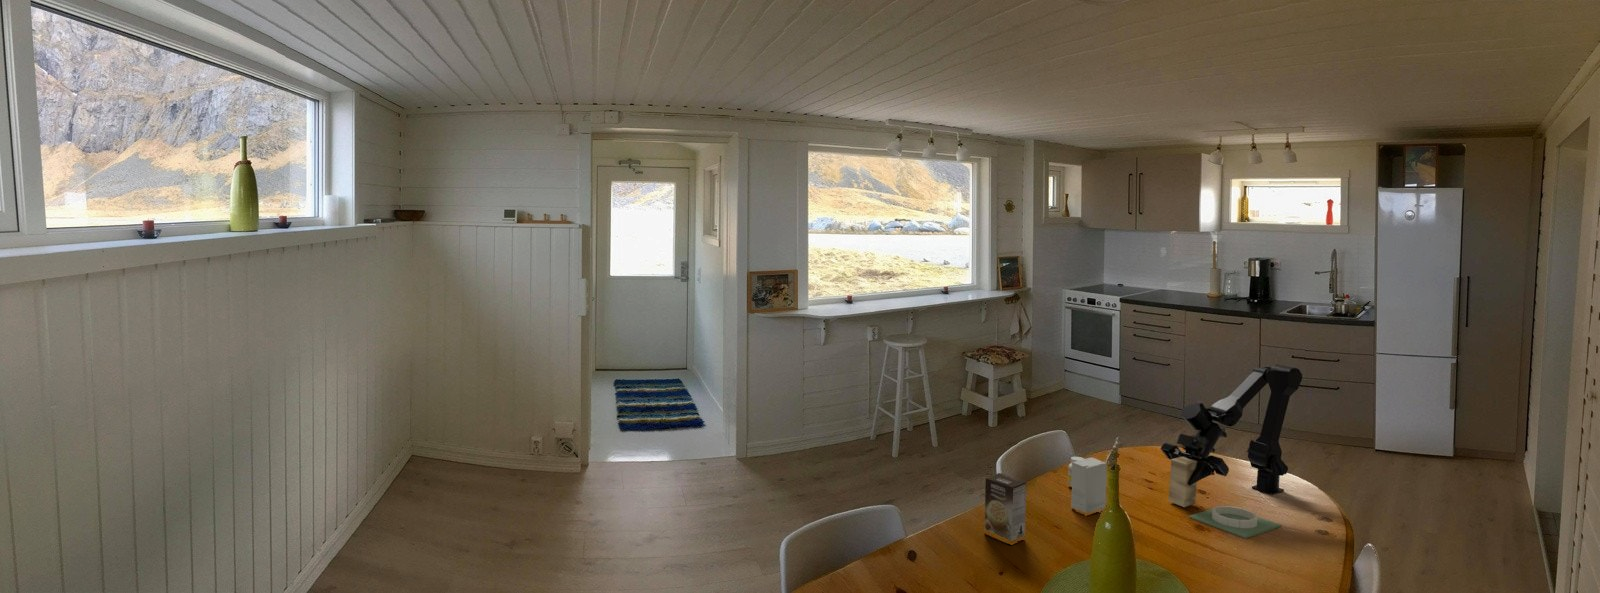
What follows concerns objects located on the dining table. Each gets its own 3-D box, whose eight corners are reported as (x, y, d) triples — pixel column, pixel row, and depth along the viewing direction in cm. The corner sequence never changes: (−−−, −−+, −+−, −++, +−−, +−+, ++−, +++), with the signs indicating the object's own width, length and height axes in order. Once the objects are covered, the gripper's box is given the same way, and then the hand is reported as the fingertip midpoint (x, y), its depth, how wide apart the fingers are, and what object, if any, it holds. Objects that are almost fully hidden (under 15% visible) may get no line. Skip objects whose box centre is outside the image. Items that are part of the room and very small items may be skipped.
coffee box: (983, 535, 196) (983, 477, 194) (997, 528, 200) (998, 472, 198) (1011, 546, 189) (1012, 486, 187) (1026, 540, 192) (1027, 481, 191)
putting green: (1224, 506, 213) (1224, 498, 213) (1280, 526, 199) (1281, 517, 199) (1188, 517, 206) (1189, 508, 206) (1245, 538, 192) (1245, 529, 191)
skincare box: (1090, 505, 216) (1091, 456, 214) (1107, 512, 210) (1108, 462, 209) (1069, 510, 212) (1070, 460, 211) (1086, 517, 207) (1087, 466, 205)
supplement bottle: (1064, 487, 230) (1065, 458, 230) (1073, 483, 234) (1074, 454, 233) (1080, 492, 226) (1081, 462, 225) (1089, 488, 230) (1089, 458, 229)
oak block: (1179, 498, 219) (1182, 456, 217) (1195, 504, 214) (1197, 461, 213) (1168, 501, 216) (1171, 459, 215) (1184, 507, 212) (1186, 464, 210)
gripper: (1165, 416, 223) (1140, 457, 219) (1224, 431, 206) (1198, 475, 202) (1181, 437, 227) (1156, 478, 223) (1240, 454, 211) (1215, 497, 207)
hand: (1180, 481), depth 214 cm, fingers closed on oak block, 5 cm apart
